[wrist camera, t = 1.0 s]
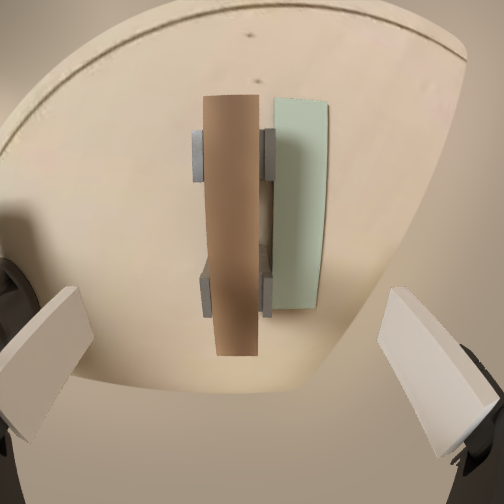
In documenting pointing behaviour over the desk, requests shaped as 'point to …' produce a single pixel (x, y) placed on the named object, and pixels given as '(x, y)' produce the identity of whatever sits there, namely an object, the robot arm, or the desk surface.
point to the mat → (298, 201)
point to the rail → (232, 219)
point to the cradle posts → (265, 276)
